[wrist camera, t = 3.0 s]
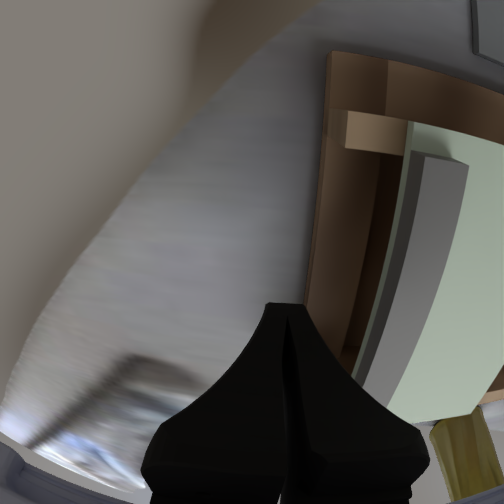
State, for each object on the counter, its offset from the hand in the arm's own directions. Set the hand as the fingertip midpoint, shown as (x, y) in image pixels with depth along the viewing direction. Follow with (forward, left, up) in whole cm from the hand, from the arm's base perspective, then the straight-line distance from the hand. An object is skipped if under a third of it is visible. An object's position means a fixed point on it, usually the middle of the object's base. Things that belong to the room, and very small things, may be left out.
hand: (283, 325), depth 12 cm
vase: (-19, +18, -6) cm, 27 cm away
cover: (-8, 0, -1) cm, 8 cm away
